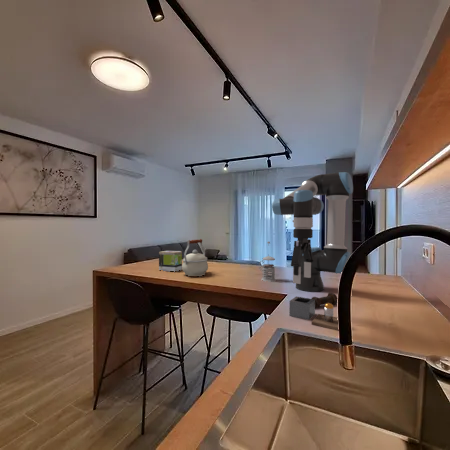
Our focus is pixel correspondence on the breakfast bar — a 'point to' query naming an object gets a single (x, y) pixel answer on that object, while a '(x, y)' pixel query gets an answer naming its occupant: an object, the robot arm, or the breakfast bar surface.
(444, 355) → the breakfast bar surface
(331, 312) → the keeper post
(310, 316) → the grey open box
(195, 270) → the kettle
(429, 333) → the breakfast bar surface
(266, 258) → the french press
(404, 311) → the breakfast bar surface
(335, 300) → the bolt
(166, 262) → the tea box
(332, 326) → the keeper base
